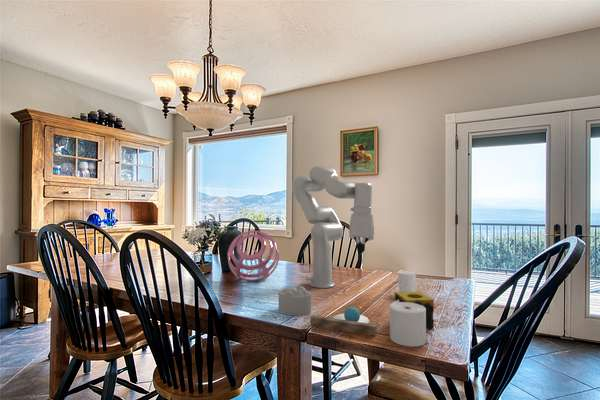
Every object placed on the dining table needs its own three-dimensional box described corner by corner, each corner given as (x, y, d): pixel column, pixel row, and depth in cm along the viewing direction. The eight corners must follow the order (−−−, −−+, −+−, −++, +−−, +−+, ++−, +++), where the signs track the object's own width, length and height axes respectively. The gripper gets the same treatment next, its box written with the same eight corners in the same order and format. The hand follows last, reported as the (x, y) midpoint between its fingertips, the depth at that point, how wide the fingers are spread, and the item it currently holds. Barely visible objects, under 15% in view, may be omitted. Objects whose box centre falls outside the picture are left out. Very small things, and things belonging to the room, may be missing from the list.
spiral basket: (242, 239, 202) (235, 216, 180) (285, 250, 198) (285, 228, 176) (224, 281, 187) (214, 262, 164) (270, 295, 183) (268, 277, 161)
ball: (344, 303, 117) (346, 314, 120) (342, 314, 113) (343, 326, 115) (360, 304, 116) (361, 316, 118) (358, 315, 111) (359, 327, 113)
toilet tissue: (412, 350, 94) (411, 315, 94) (379, 336, 104) (379, 304, 104) (433, 341, 100) (433, 308, 100) (400, 328, 110) (400, 298, 110)
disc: (327, 323, 115) (327, 322, 115) (338, 311, 127) (338, 311, 127) (364, 329, 110) (364, 328, 110) (372, 316, 122) (372, 316, 122)
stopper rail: (310, 326, 113) (310, 317, 113) (312, 324, 115) (312, 315, 115) (375, 336, 104) (375, 326, 104) (376, 334, 106) (376, 324, 106)
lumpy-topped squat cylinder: (292, 304, 137) (292, 283, 137) (317, 311, 128) (317, 288, 129) (274, 310, 129) (274, 288, 129) (300, 318, 121) (300, 294, 121)
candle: (393, 319, 119) (393, 291, 119) (420, 318, 120) (420, 291, 120) (405, 330, 109) (404, 300, 109) (434, 329, 110) (434, 299, 110)
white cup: (417, 297, 146) (417, 274, 146) (398, 296, 148) (398, 273, 148) (414, 292, 154) (414, 270, 154) (397, 291, 155) (397, 270, 155)
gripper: (343, 210, 144) (342, 251, 145) (377, 212, 138) (376, 255, 139) (348, 209, 151) (347, 249, 152) (381, 211, 145) (379, 252, 146)
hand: (360, 252), depth 145 cm, fingers closed
